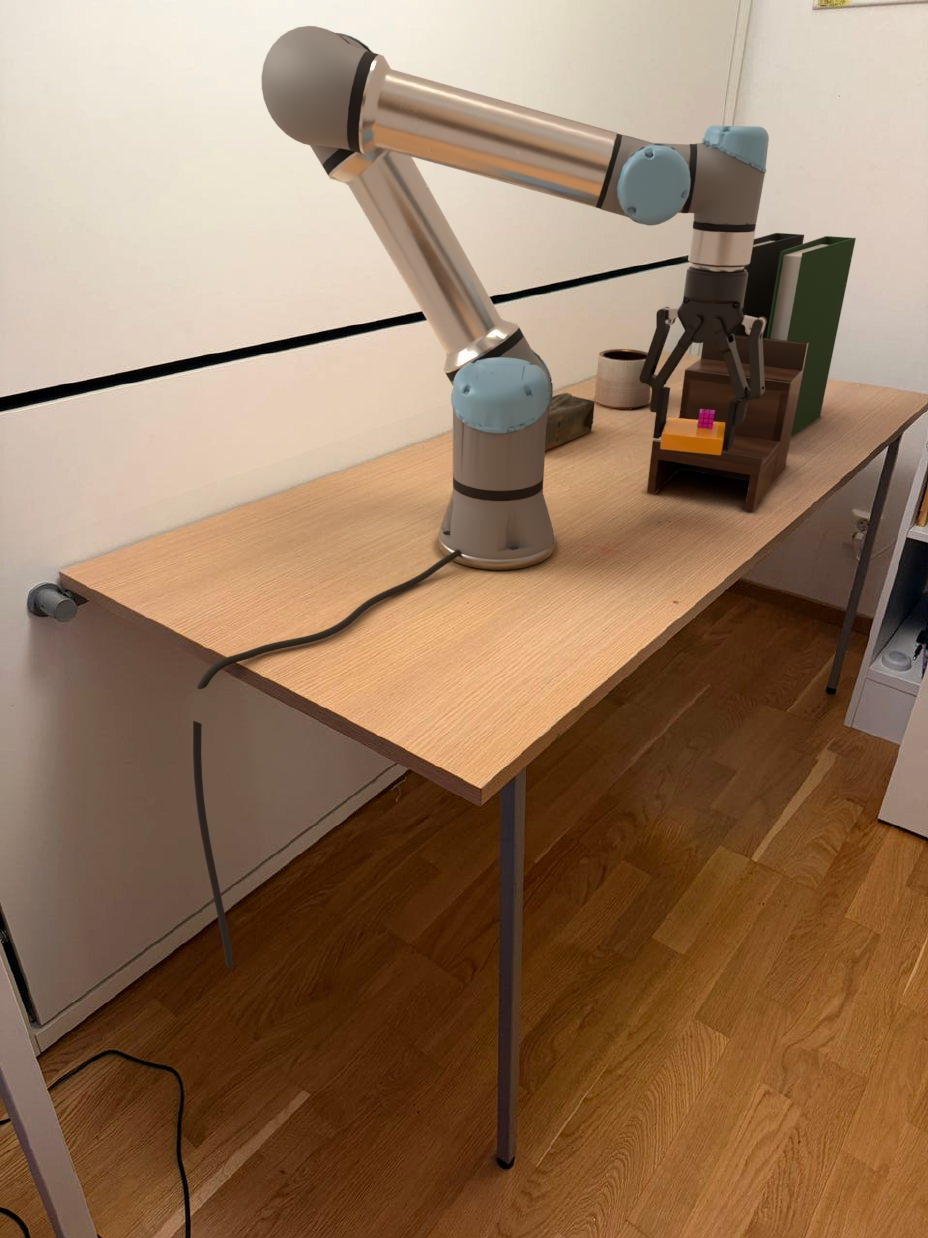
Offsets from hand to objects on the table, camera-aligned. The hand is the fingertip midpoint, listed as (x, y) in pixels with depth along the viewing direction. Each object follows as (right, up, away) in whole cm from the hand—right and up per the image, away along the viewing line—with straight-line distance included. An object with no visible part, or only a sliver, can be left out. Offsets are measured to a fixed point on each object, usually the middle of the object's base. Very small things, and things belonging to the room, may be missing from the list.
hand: (692, 441), depth 122 cm
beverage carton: (-17, +7, +37) cm, 41 cm away
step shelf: (+9, -2, +20) cm, 22 cm away
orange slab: (0, 0, 0) cm, 0 cm away
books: (+24, +11, +44) cm, 51 cm away
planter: (+1, +19, +58) cm, 61 cm away
